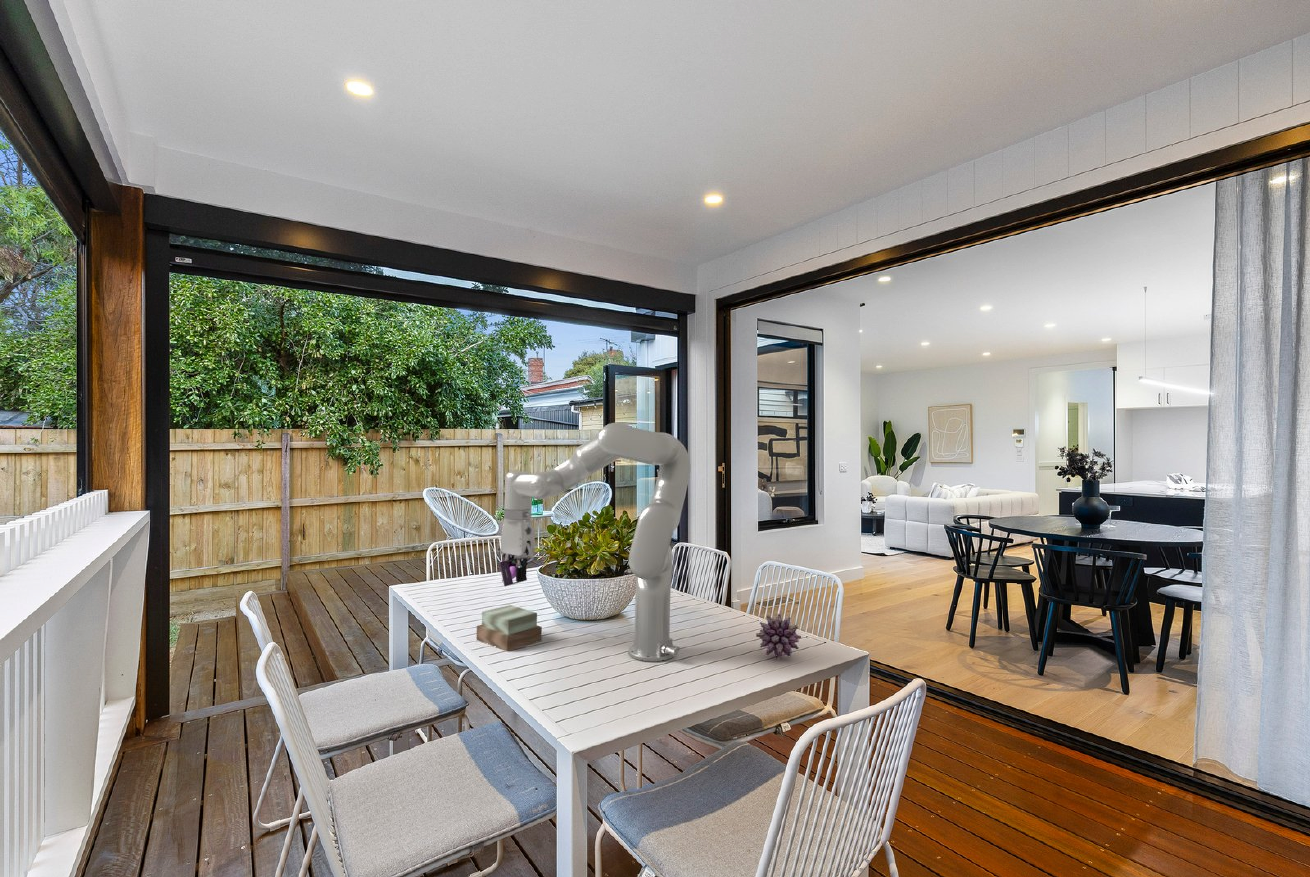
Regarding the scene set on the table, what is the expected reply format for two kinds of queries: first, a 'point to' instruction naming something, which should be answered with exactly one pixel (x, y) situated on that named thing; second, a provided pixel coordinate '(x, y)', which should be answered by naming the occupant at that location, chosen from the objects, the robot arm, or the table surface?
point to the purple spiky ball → (778, 636)
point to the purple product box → (508, 572)
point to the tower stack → (509, 628)
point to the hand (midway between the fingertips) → (515, 578)
